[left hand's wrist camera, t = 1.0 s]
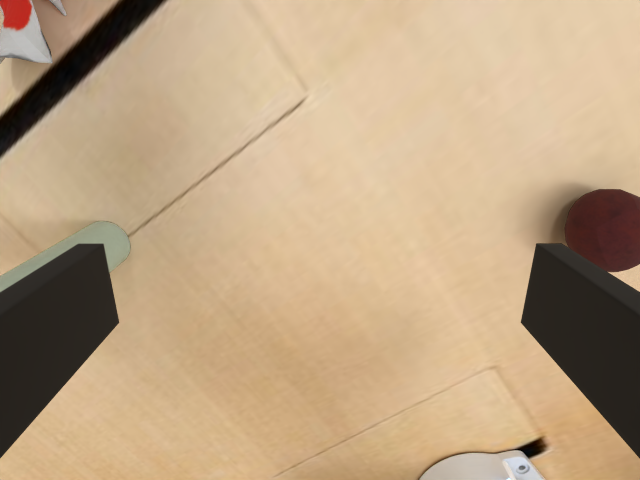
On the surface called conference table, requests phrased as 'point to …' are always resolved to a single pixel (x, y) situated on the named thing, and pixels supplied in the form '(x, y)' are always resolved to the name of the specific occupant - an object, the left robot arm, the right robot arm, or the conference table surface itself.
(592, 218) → the dark red ball
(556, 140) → the conference table surface
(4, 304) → the left robot arm
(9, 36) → the fish
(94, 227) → the green bottle
